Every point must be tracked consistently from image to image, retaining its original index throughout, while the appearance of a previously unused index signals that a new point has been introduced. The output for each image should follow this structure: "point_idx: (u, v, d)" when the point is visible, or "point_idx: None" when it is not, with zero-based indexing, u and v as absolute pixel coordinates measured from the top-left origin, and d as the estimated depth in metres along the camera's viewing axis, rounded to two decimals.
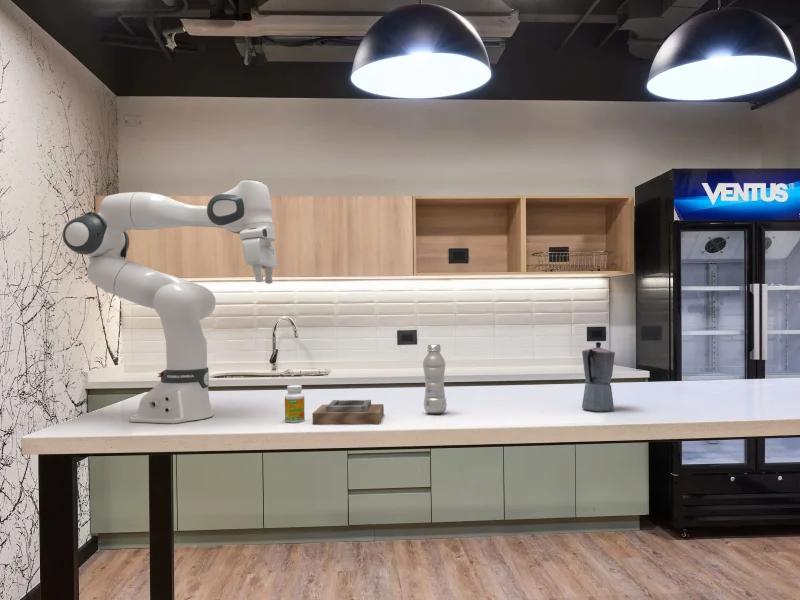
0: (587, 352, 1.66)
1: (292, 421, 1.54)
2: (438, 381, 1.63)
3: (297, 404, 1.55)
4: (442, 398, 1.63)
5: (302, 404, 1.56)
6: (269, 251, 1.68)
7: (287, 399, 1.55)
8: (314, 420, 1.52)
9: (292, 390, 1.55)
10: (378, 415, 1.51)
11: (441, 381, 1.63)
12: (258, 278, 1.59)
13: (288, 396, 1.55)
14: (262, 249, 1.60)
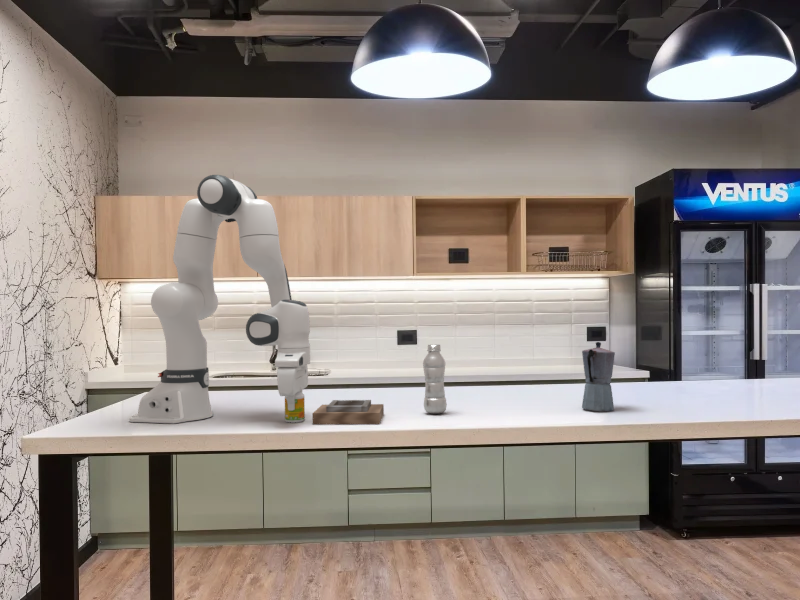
0: (587, 352, 1.66)
1: (292, 421, 1.54)
2: (438, 381, 1.63)
3: (297, 404, 1.55)
4: (442, 398, 1.63)
5: (302, 404, 1.56)
6: (302, 372, 1.60)
7: None
8: (314, 420, 1.52)
9: None
10: (378, 415, 1.51)
11: (441, 381, 1.63)
12: (290, 406, 1.53)
13: None
14: (296, 376, 1.53)
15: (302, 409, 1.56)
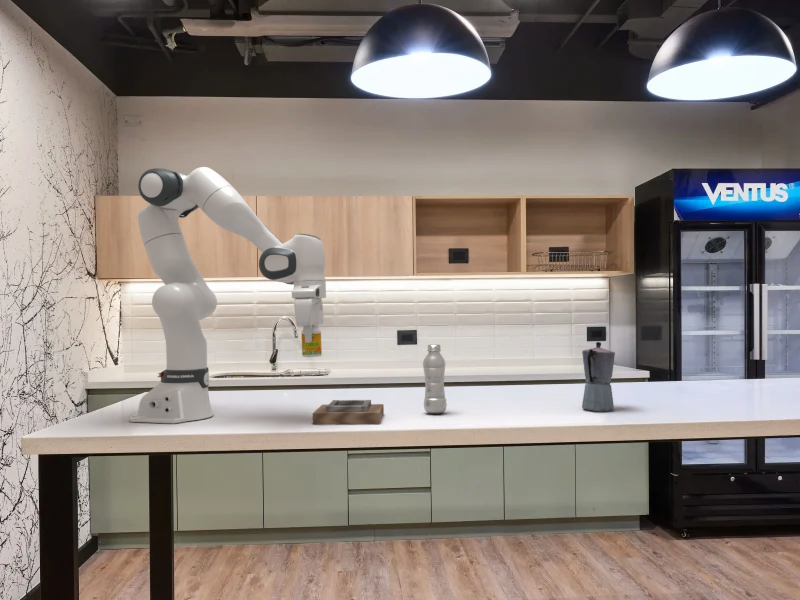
0: (587, 352, 1.66)
1: (309, 355, 1.55)
2: (438, 381, 1.63)
3: (314, 338, 1.55)
4: (442, 398, 1.63)
5: (318, 339, 1.56)
6: (318, 308, 1.61)
7: None
8: (314, 420, 1.52)
9: None
10: (378, 415, 1.51)
11: (441, 381, 1.63)
12: (308, 338, 1.53)
13: None
14: (313, 308, 1.54)
15: (319, 344, 1.56)
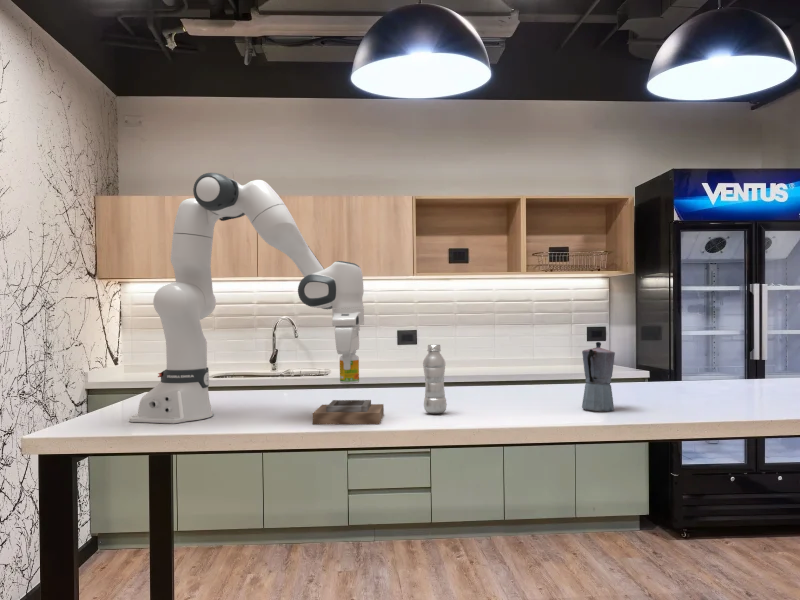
0: (587, 352, 1.66)
1: (348, 382, 1.56)
2: (438, 381, 1.63)
3: (353, 365, 1.56)
4: (442, 398, 1.63)
5: (357, 366, 1.57)
6: (355, 334, 1.62)
7: (342, 360, 1.56)
8: (314, 420, 1.52)
9: None
10: (378, 415, 1.51)
11: (441, 381, 1.63)
12: (346, 366, 1.54)
13: None
14: None
15: (357, 371, 1.57)
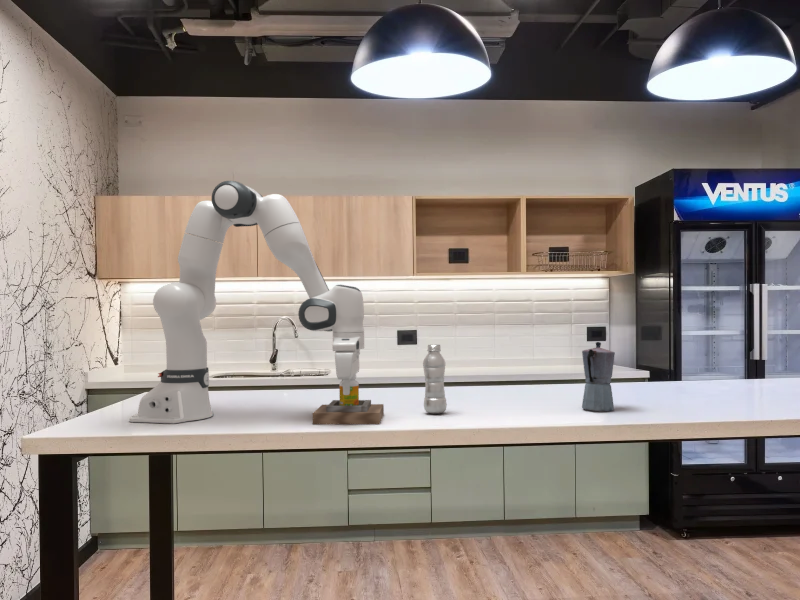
0: (587, 352, 1.66)
1: None
2: (438, 381, 1.63)
3: (352, 391, 1.56)
4: (442, 398, 1.63)
5: (356, 392, 1.57)
6: (355, 357, 1.62)
7: (342, 386, 1.56)
8: (314, 420, 1.52)
9: None
10: (378, 415, 1.51)
11: (441, 381, 1.63)
12: (346, 391, 1.53)
13: None
14: None
15: (357, 396, 1.57)
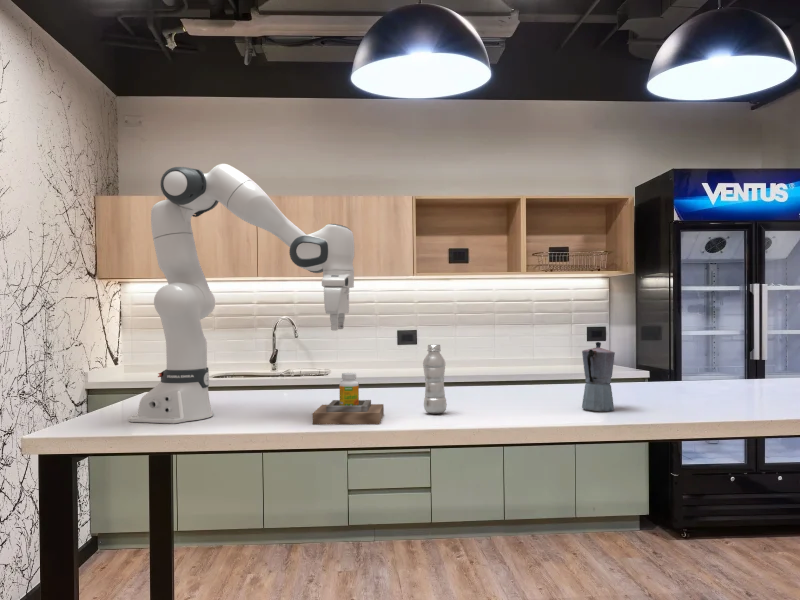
0: (587, 352, 1.66)
1: None
2: (438, 381, 1.63)
3: (352, 391, 1.56)
4: (442, 398, 1.63)
5: (356, 392, 1.57)
6: (345, 297, 1.65)
7: (342, 386, 1.56)
8: (314, 420, 1.52)
9: (347, 377, 1.57)
10: (378, 415, 1.51)
11: (441, 381, 1.63)
12: (334, 327, 1.56)
13: (344, 383, 1.56)
14: (341, 297, 1.57)
15: (357, 396, 1.57)
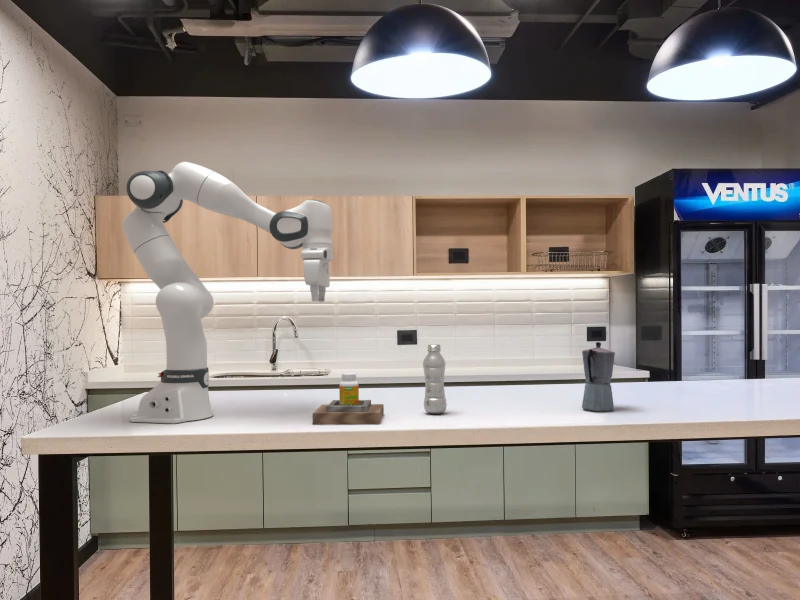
0: (587, 352, 1.66)
1: None
2: (438, 381, 1.63)
3: (352, 391, 1.56)
4: (442, 398, 1.63)
5: (356, 392, 1.57)
6: (325, 270, 1.71)
7: (342, 386, 1.56)
8: (314, 420, 1.52)
9: (347, 377, 1.57)
10: (378, 415, 1.51)
11: (441, 381, 1.63)
12: (314, 298, 1.62)
13: (344, 383, 1.56)
14: (320, 269, 1.64)
15: (357, 396, 1.57)
